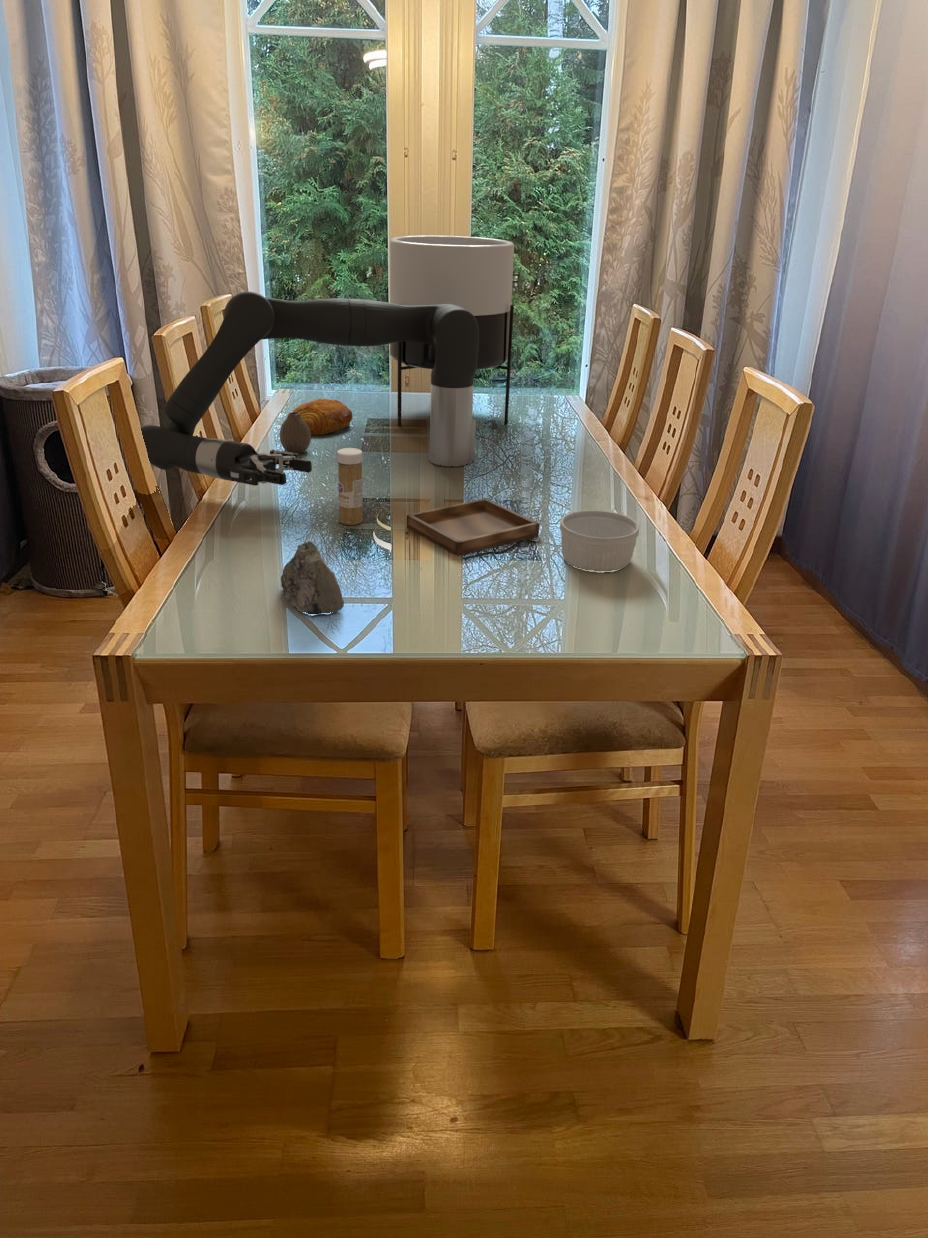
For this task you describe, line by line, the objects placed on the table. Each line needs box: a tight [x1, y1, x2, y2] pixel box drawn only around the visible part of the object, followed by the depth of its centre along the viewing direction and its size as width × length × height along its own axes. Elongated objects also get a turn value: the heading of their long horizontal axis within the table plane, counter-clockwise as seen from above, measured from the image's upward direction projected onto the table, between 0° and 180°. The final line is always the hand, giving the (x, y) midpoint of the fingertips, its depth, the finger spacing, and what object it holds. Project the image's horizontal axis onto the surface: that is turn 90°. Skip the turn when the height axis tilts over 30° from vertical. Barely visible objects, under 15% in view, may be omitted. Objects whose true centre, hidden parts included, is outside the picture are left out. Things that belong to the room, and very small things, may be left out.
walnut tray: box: [406, 498, 540, 557], centre depth 167 cm, size 18×16×2 cm
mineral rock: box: [280, 540, 345, 615], centre depth 138 cm, size 13×11×10 cm
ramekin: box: [559, 509, 640, 571], centre depth 156 cm, size 13×13×7 cm
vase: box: [279, 411, 312, 454], centre depth 208 cm, size 7×7×9 cm
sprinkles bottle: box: [336, 447, 364, 526], centre depth 168 cm, size 5×5×14 cm
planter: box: [389, 235, 515, 427], centre depth 232 cm, size 31×31×43 cm
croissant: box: [292, 398, 353, 436], centre depth 228 cm, size 14×16×8 cm
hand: (298, 472), depth 171 cm, fingers open, 8 cm apart
